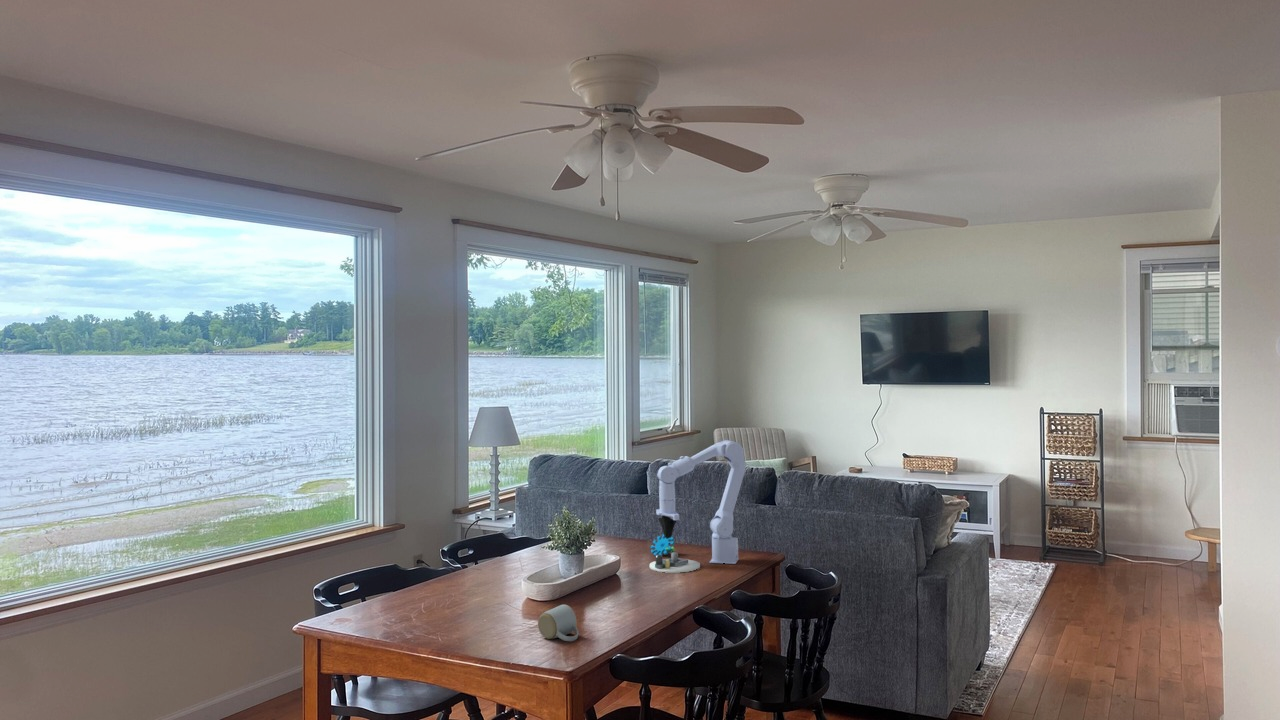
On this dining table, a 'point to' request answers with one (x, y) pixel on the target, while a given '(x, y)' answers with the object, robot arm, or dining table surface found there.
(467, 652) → the dining table surface
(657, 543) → the gear
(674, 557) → the base plate
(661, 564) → the crank handle
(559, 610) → the ceramic mug
